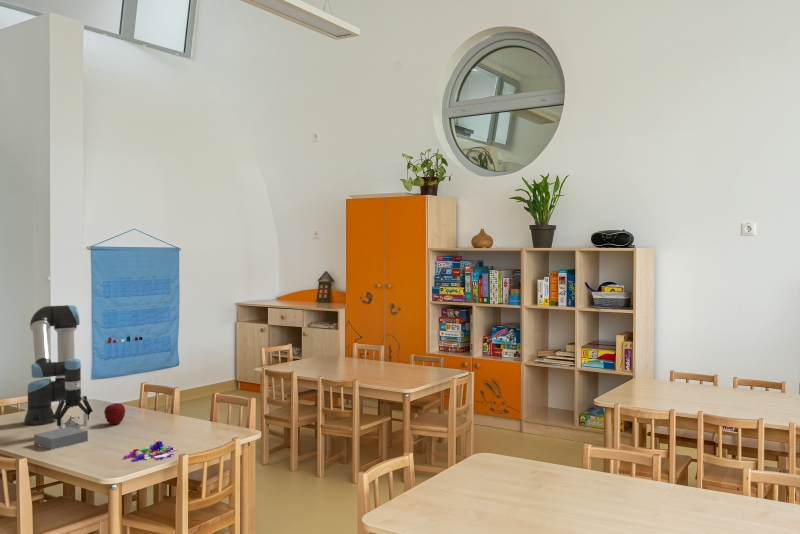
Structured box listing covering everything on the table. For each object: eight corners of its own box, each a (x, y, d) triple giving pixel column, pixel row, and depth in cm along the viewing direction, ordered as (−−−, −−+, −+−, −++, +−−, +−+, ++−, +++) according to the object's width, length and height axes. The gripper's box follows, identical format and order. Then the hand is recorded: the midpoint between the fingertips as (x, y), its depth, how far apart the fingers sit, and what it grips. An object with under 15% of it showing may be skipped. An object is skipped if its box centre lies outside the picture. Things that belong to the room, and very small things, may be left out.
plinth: (34, 444, 319) (33, 434, 319) (69, 436, 334) (69, 426, 334) (51, 449, 310) (51, 439, 310) (87, 440, 325) (87, 430, 325)
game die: (77, 438, 344) (90, 422, 347) (68, 436, 336) (81, 419, 339) (65, 428, 347) (78, 412, 349) (56, 426, 339) (69, 410, 341)
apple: (109, 421, 365) (109, 400, 365) (128, 421, 365) (128, 400, 365) (100, 426, 354) (100, 405, 354) (120, 426, 354) (120, 404, 354)
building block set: (143, 465, 286) (143, 455, 286) (117, 457, 298) (117, 448, 298) (191, 452, 306) (191, 442, 306) (166, 445, 319) (166, 436, 319)
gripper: (53, 393, 330) (53, 435, 330) (99, 385, 351) (99, 425, 351) (45, 392, 334) (45, 433, 334) (91, 384, 355) (91, 423, 355)
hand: (73, 429), depth 343 cm, fingers open, 13 cm apart
